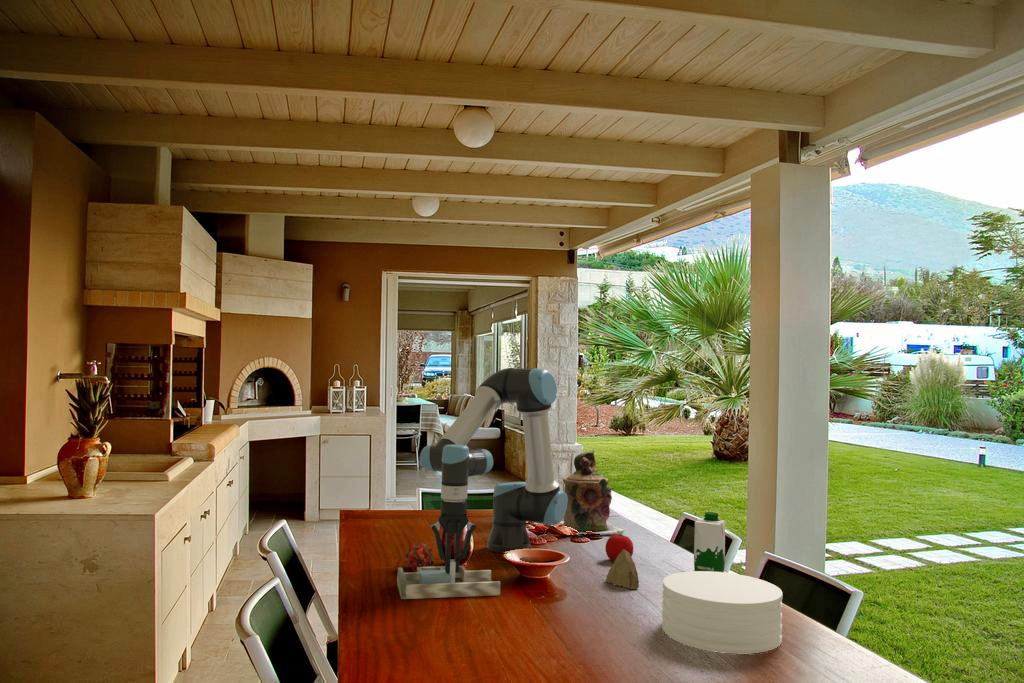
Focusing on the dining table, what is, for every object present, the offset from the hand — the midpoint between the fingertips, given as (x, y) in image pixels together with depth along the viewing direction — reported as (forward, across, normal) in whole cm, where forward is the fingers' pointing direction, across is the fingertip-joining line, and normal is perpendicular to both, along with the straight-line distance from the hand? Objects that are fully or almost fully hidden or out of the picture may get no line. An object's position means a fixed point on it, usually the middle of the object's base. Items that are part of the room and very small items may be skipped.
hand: (451, 584), depth 213 cm
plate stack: (+2, +59, -45) cm, 74 cm away
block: (+2, -5, 0) cm, 5 cm away
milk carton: (+2, +80, 0) cm, 80 cm away
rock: (+2, +51, -2) cm, 51 cm away
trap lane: (+2, -1, +3) cm, 4 cm away
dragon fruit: (+2, -6, +23) cm, 24 cm away
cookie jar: (+2, +66, +75) cm, 100 cm away
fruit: (+2, +61, +26) cm, 66 cm away
